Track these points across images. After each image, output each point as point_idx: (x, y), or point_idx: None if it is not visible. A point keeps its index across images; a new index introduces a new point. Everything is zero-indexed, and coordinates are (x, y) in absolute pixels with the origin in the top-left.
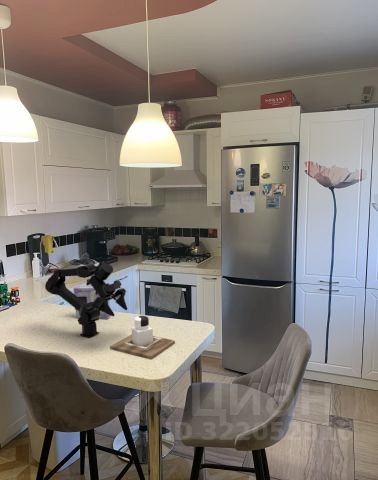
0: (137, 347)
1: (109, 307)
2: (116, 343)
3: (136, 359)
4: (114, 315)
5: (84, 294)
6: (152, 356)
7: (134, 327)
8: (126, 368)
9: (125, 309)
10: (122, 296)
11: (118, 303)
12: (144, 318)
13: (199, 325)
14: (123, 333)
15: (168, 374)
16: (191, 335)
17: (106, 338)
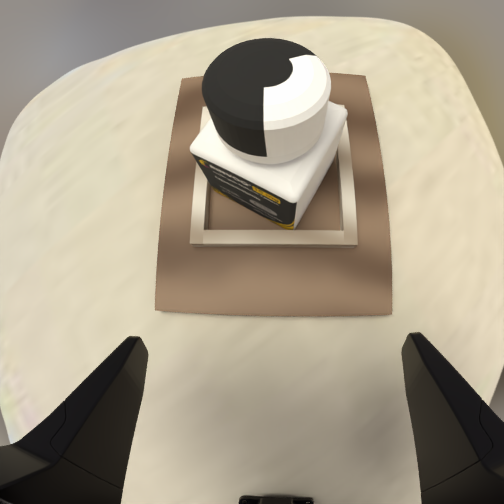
0: (349, 150)
1: (472, 426)
2: (346, 308)
3: (400, 129)
4: (410, 334)
5: None
6: (358, 76)
7: (297, 169)
8: (463, 129)
9: (143, 360)
10: (19, 471)
11: (116, 488)
12: (276, 42)
13: (23, 129)
14: (176, 386)
15: (398, 22)
16: (100, 89)
17: (279, 429)
